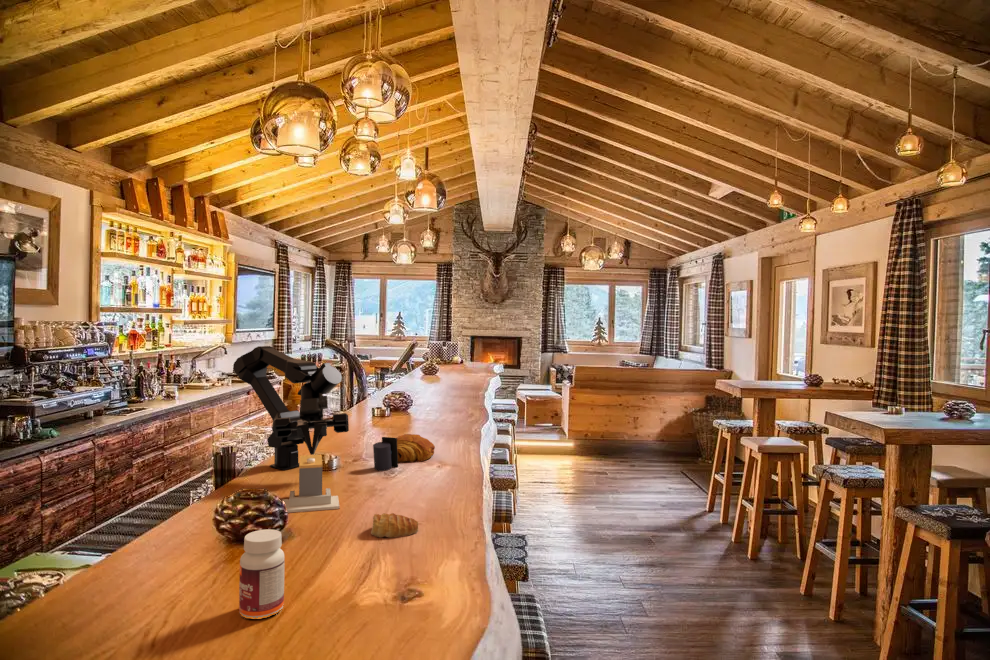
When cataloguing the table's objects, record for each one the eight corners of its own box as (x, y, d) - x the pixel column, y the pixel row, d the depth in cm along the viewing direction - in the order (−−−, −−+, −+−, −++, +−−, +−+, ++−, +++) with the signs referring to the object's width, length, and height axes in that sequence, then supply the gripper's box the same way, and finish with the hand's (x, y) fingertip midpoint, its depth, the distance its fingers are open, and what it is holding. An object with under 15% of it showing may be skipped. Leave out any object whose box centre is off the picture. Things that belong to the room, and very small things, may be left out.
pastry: (417, 526, 124) (418, 508, 124) (418, 538, 117) (419, 519, 117) (372, 527, 123) (372, 509, 122) (370, 540, 116) (370, 521, 116)
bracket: (281, 502, 137) (281, 491, 137) (337, 498, 141) (337, 487, 141) (280, 513, 130) (280, 502, 130) (339, 508, 133) (339, 497, 133)
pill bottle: (231, 611, 87) (232, 535, 87) (270, 596, 92) (271, 524, 91) (252, 626, 83) (253, 546, 83) (292, 610, 88) (292, 534, 87)
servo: (299, 494, 143) (300, 452, 143) (321, 493, 145) (321, 451, 144) (298, 508, 134) (299, 462, 133) (321, 506, 135) (322, 461, 135)
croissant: (379, 467, 178) (377, 442, 177) (402, 449, 193) (400, 426, 192) (423, 471, 174) (421, 445, 173) (443, 452, 189) (441, 428, 187)
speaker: (386, 463, 173) (385, 434, 172) (398, 467, 171) (398, 437, 169) (370, 470, 168) (369, 440, 167) (382, 474, 165) (382, 443, 164)
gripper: (271, 387, 152) (269, 441, 142) (346, 383, 156) (349, 434, 147) (276, 411, 160) (274, 463, 151) (347, 406, 165) (349, 456, 155)
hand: (312, 453), depth 151 cm, fingers closed
